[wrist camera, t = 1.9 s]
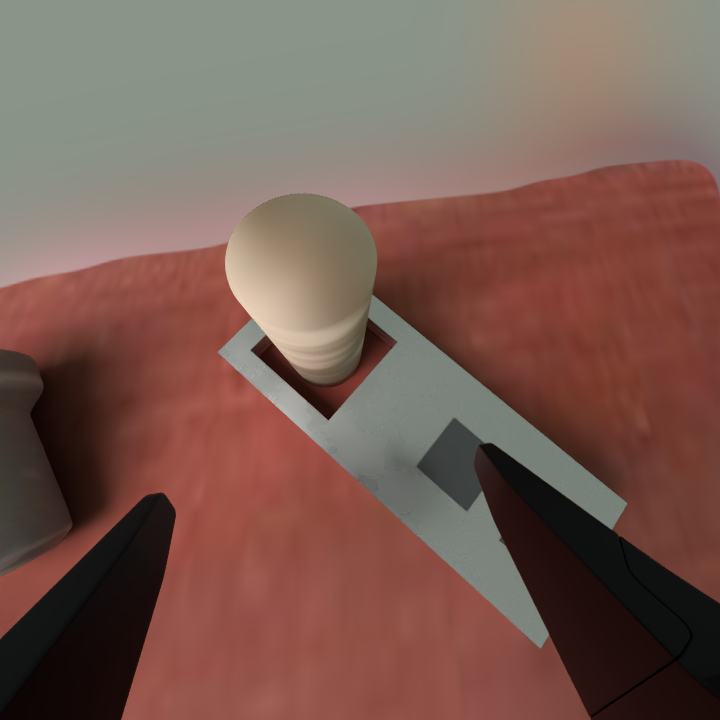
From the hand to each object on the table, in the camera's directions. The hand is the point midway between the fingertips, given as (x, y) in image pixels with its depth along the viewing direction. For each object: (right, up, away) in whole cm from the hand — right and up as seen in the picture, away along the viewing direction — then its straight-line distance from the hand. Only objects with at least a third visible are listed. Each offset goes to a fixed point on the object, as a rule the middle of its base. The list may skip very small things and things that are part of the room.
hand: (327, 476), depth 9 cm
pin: (-2, +4, +14) cm, 15 cm away
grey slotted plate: (+5, -1, +13) cm, 14 cm away
